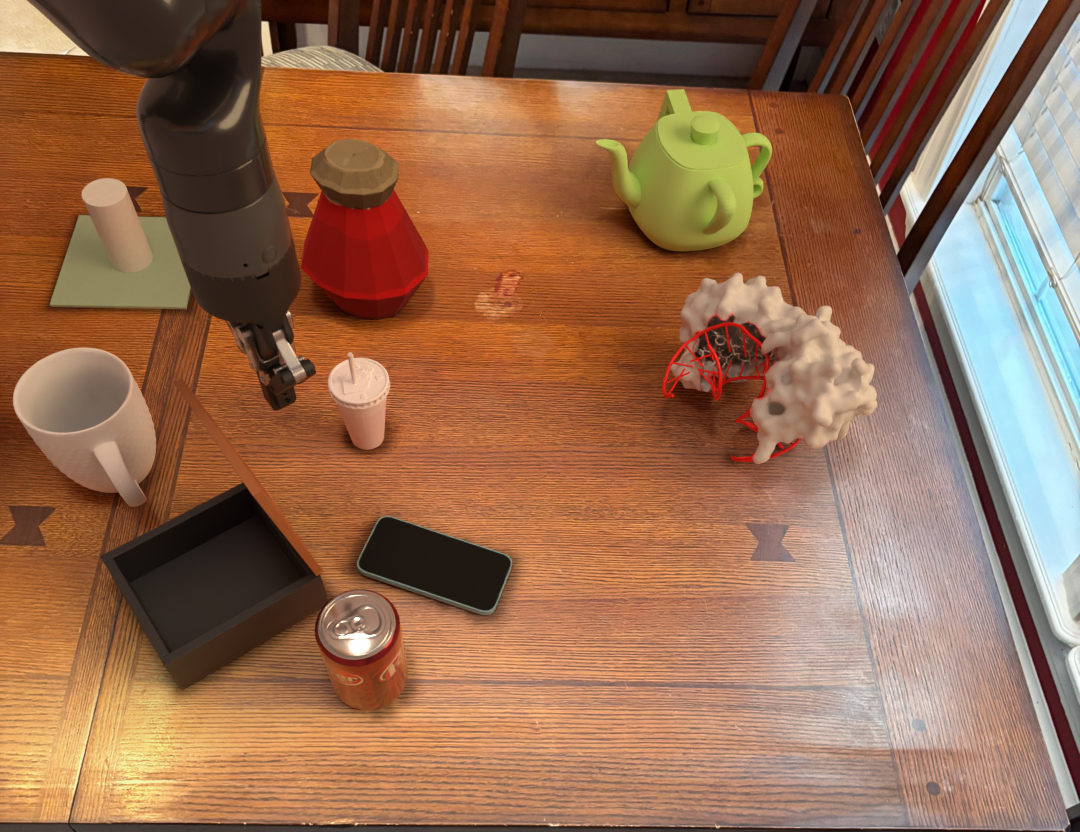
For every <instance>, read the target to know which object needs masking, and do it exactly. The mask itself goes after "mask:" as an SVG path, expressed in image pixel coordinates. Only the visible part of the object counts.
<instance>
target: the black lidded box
mask: <svg viewBox="0 0 1080 832" xmlns="http://www.w3.org/2000/svg"><path fill="white" fill-rule="evenodd" d="M100 559H101V560H102V562H103V564H104V566H105V567H106V569H107V571H108V573H109V574H110V576H111V577H112V579H113V581H114V583H115V584H116V586H117V588H118V589H119V591H120V593H121V595H122V596H123V598H124V600H125V601H126V603H127V605H128V606H129V608H130V610H131V612H132V613H133V615H134V616H135V617H134V618H136V621H137V622H138V623H139V625H140V627H141V629H142V630H143V632H144V634H145V635H146V637H147V639H148V640H149V642H150V644H151V646H152V647H153V649H154V651H155V653H156V655H157V656H158V658H159V659H160V661H161V663H162V664H163V667H165V669H166V670H167V671H168V673H169V674H170V675H171V676H172V678H173V680H174V681H175V682H176V683H177V685H178V686H179V687H180V688H181V689H182V690H183V691H184V690H186V689H187V688H189V687H191V686H192V685H194V684H195V683H197V682H200V681H201V680H202V679H204V678H206V677H207V676H210V675H211V674H212V673H215V672H216V671H218V670H219V669H222V668H223V667H224V666H226V665H228V664H230V663H232V662H233V661H234V660H236V659H238V658H239V657H242V656H243V655H245V654H247V653H249V652H250V651H252V650H253V649H255V648H257V647H259V646H260V645H262V644H263V643H265V642H267V641H268V640H270V639H272V638H274V637H276V636H277V635H279V634H281V633H282V632H283V631H285V630H287V629H289V628H291V627H293V626H294V625H296V624H297V623H299V622H301V621H302V620H304V619H306V618H307V617H309V616H311V615H313V614H314V613H316V612H318V611H319V610H321V609H322V608H323V607H324V605H325V604H326V603H327V602H328V601H329V599H328V596H327V592H326V589H325V586H324V583H323V579H322V576H321V573H320V574H319V575H318V576H316V575H315V574H314V572H313V571H312V570H311V569H310V567H309V566H308V565H307V564H306V562H305V561H304V560H303V559H302V557H301V556H300V555H299V554H298V552H297V551H296V550H295V549H294V547H293V546H292V545H291V543H290V542H289V541H288V540H287V538H286V537H285V536H284V535H283V533H282V532H281V531H280V530H279V528H278V527H277V526H276V525H275V523H274V522H273V521H272V520H271V518H270V517H269V516H268V515H267V513H266V512H265V511H264V509H263V508H262V507H261V506H260V504H259V503H258V502H257V501H256V499H255V498H254V497H253V496H252V494H251V493H250V491H249V490H248V488H247V487H246V486H245V484H244V483H243V482H241V483H239V484H237V485H235V486H233V487H231V488H230V489H228V490H226V491H224V492H222V493H220V494H217V495H216V496H214V497H212V498H210V499H208V500H206V501H204V502H202V503H200V504H198V505H197V506H194V507H192V508H190V509H189V510H187V511H185V512H183V513H181V514H179V515H177V516H175V517H173V518H171V519H170V520H168V521H167V520H166V522H164V523H161V524H159V525H157V526H156V527H154V528H152V529H150V530H148V531H146V532H144V533H142V534H140V535H138V536H136V537H134V538H132V539H131V540H129V541H126V542H125V543H123V544H121V545H119V546H117V547H115V548H112V549H111V550H109V551H107V552H105V553H103V554H101V555H100Z"/></svg>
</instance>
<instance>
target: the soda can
mask: <svg viewBox="0 0 1080 832" xmlns="http://www.w3.org/2000/svg"><path fill="white" fill-rule="evenodd" d="M314 637H315V642H316V644H317V647H318V650H319V652H320V655H321V658H322V660H323V664H324V665H325V666H324V667H325V669H326V671H327V675H328V677H329V680H330V683H331V686H332V689H333V691H334V692H335V694H336V696H337V697H338V699H340V700H341V702H343V703H344V704H345V705H347V706H349V707H350V708H353V709H357V710H361V711H373V710H374V711H375V710H379V709H381V708H384V707H386V706H388V705H390V704H391V703H393V702H394V701H395V700H397V698H398V697H399V696H400V695H401V693H402V692H403V691H404V688H405V687H406V684H407V682H408V673H409V669H408V663H407V656H406V651H405V650H406V649H405V644H404V643H405V642H404V640H403V639H404V637H403V632H402V626H401V619H400V615H399V612H398V610H397V608H396V606H395V605H394V603H393V602H392V601H391V600H389V598H388V597H386V596H384V595H383V594H381V593H379V592H377V591H375V590H370V589H366V588H360V589H359V588H355V589H349V590H345V591H342V592H341V593H339V594H337V595H335V596H333V597H331V598H330V599H328V602H327V603H326V604H325V605H324V607H323V608H321V609H320V611H319V613H318V615H317V617H316V620H315V624H314Z"/></svg>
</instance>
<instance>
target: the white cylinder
mask: <svg viewBox="0 0 1080 832" xmlns="http://www.w3.org/2000/svg"><path fill="white" fill-rule="evenodd" d="M81 199H82V201H83V203H84V205H85V207H86V210H87V212H88V215H90V217H91V219H92V221H93V223H94V226H95V228H96V230H97V232H98V235H99V237H100V239H101V241H102V244H103V246H104V248H105V250H106V253H107V255H108V257H109V259H110V261H111V264H112V266H113V267H114V268H115V269H116V270H118V271H120V272H123V273H135V272H139V271H141V270H143V269H145V268H147V267H148V266H149V265H150V264H151V262H152V260H153V254H152V251H151V249H150V246H149V244H148V241H147V239H146V236H145V234H144V231H143V229H142V226H141V223H140V221H139V218H138V216H139V215H138V213H137V211H136V208H135V206H134V202H133V201H132V198H131V196H130V193H129V191H128V188H127V186H126V184H125V183H124V182H123V181H122V180H119V179H117V178H114V177H113V178H111V177H104V178H98V179H95V180H93V181H91V182H89V183H87V184H86V185H85V186H84V187H83V188H82V190H81Z"/></svg>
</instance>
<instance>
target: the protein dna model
mask: <svg viewBox="0 0 1080 832" xmlns="http://www.w3.org/2000/svg"><path fill="white" fill-rule="evenodd" d="M832 314H833V308H832V307H831V306H830V305H821V306H820V307H818V308H817V310H816V313H815V315H810V314H807V313H806V312H805V311H804V309H803V308H802V307H800V306H798V305H797V306H795V305H794V306H793V305H791V304H789V303H787V302H786V301H785V299H784V297H783V294H782V290H781V288H780V287H779V286H777V285H772V286H769V285H767V278H766V276H764V275H760V274H759V275H757V276H756V277H755V276H754V277H753V278H752V277H750V278H749V279H747V281H745V282H744V276H743V274H742V273H740V272H735V273H733V274H732V276H731V277H729V278H728V279H726V280H725V281H722V282H719V283H718V282H717V280H716V279H713V278H709V277H704V278H703V279H701V281H700V285H699V287H698V289H697V290H696V291H694V292H691V293H690V294H688V295H687V297H686V298H685V300H684V305H683V306H682V308H681V310H680V313H679V318H680V321H681V323H682V324H681V326H680V327H679V329H678V332H679V334H678V340H679V342H680V344H681V346H680V347H679V348H678V349H677V350H676V352H675V353H674V354H673V356H672V357H671V359H670V361H669V362H668V364H667V367H666V370H665V372H664V376H663V380H662V384H661V393H662V396H663V398H664V399H670V398H674V396H675V393H672V392H673V390H674V389H675V387H676V386H677V384H678V382H681V384H682V387H683V389H686V390H689V389H692V390H697V391H698V392H699V391H700V392H705V393H709V392H710V391H711V395H712V398H713V400H714V401H715V402H718V401H719V399H720V398H721V395H722V392H723V389H722V388H723V386H724V385H726V384H728V383H745V382H748V381H749V380H763V382H762V385H761V388H760V392H759V394H758V395H757V397H753V399H752V400H753V401H752V403H751V405H750V407H748V409H747V410H746V411H745V412H744V413H743V414H741V415H740V416H739V417H737V418H736V419H735V420H734V423H735V424H739V423H740V424H742V425H743V426H746V427H747V428H749V429H751V430H752V431H753V432H755V433H756V439H757V440H758V446H757V448H756V450H755V452H754V453H753V454H751V456H738V457H737V456H734V455H733V454H732V455H730V456H729V458H730V459H731V460H732V461H733V462H738V463H739V462H740V463H752V462H753V463H754V464H756V465H761V464H764V463H766V462H768V461H769V460H770V459H774V458H777V457H779V456H781V455H783V454H785V453H787V452H789V451H791V450H792V449H794V448H795V447H797V445H798V444H799V443H800V442H801V440H802V439H803V438H804V442H805V444H806V446H807V447H809V448H810V449H812V450H817V449H821V448H823V447H825V446H826V445H827V444H828V443H829V442H835V441H836V440H838V441H839V440H840V441H841V440H843V439H845V438H846V436H847V435H848V433H849V429H850V425H851V423H852V420H853V419H854V418H856V417H857V416H860V415H862V416H867V417H869V416H871V415H872V414H873V413H874V411H875V410H876V409H877V407H878V401H877V398H878V393H877V390H876V388H875V387H874V386H873V385H872V384H870V383H871V382H872V380H873V378H874V376H875V369H876V368H875V366H874V364H872V363H870V362H869V363H867V362H866V361H865V360H864V359H863V354H862V353H861V351H860V350H857V349H855V347H854V346H853V345H850V344H846V342H845V341H844V340H842V339H841V338H840V336H841V334H842V333H841V328H840V327H839V326H837V325H835V324H833V322H832V321H831V318H832ZM683 350H684V351H683ZM682 351H683V352H682ZM681 352H682V354H681ZM680 354H681V356H680ZM679 356H680V358H679V360H678V361H675V360H676V359H677V358H678V357H679ZM670 372H671V373H672V375H673V378H671V379H669V380H668V378H669V375H670ZM753 374H755V375H753ZM716 378H717V384H716ZM671 382H674V383H673V385H672V386H671V387H670V390H669V391H668V392H667V391H666V389H667V388H666V387H667V384H669V383H671ZM766 389H767V390H766ZM765 391H767V392H766V394H765ZM764 394H765V395H764ZM746 418H751V419H752V421H753V422H750V421H746V420H744V419H746ZM794 440H795V441H794ZM782 443H783V444H789V445H788V446H787V447H785V448H784V446H783V444H782ZM776 446H777V447H778V448H779V449H781V450H779V451H777V452H775V453H774V451H775V449H776Z"/></svg>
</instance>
